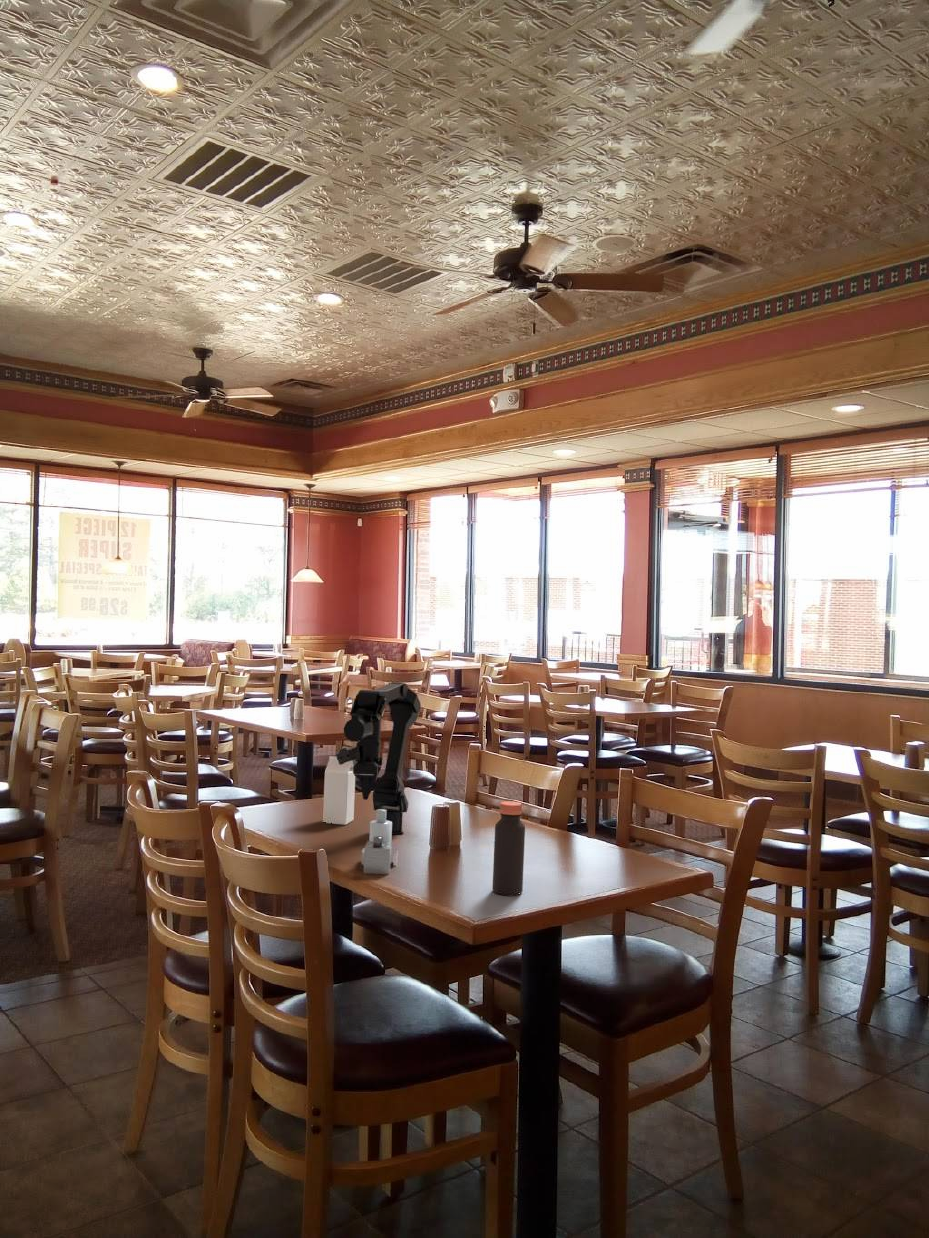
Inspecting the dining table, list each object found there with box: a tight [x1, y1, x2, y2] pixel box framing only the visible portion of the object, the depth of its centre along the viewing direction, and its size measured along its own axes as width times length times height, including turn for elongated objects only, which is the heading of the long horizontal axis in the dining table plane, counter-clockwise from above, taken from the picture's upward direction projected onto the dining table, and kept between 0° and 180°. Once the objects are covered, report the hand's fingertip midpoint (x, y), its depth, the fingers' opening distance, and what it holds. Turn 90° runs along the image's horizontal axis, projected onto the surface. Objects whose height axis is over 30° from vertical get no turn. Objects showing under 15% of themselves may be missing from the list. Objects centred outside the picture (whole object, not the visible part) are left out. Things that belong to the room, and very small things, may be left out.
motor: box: [360, 836, 399, 875], centre depth 231 cm, size 12×9×8 cm
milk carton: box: [322, 755, 356, 826], centre depth 280 cm, size 7×7×19 cm
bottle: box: [491, 800, 526, 896], centre depth 215 cm, size 7×7×20 cm
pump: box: [368, 809, 393, 842], centre depth 236 cm, size 5×5×13 cm
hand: (366, 796), depth 253 cm, fingers open, 9 cm apart
